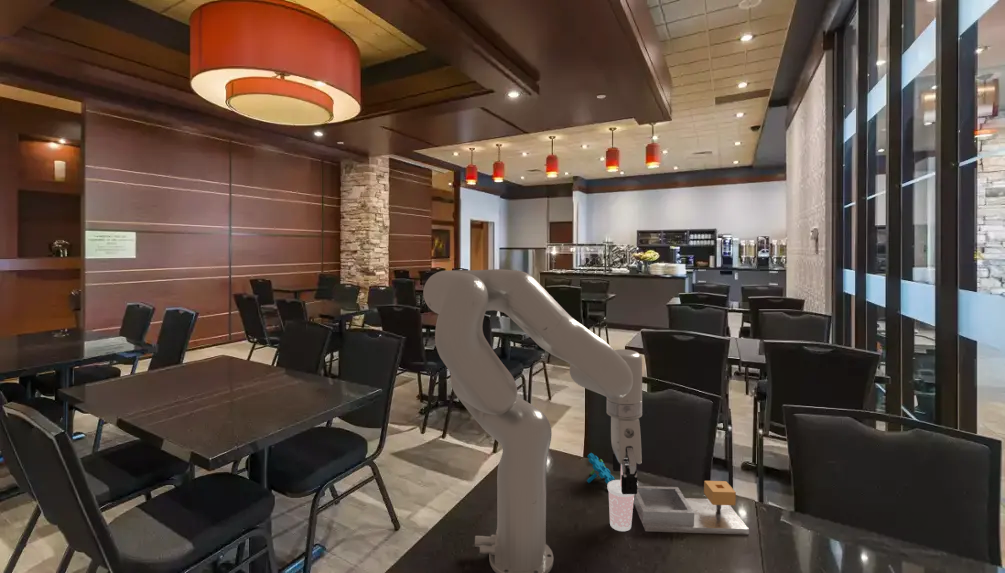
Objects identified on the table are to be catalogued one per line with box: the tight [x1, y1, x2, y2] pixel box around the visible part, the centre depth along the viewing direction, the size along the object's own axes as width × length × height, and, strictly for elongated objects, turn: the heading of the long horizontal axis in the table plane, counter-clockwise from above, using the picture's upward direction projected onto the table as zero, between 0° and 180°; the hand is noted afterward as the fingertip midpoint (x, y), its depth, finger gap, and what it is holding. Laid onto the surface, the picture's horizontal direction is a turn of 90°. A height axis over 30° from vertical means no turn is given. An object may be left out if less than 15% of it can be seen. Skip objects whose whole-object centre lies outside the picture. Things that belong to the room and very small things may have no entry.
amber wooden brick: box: [703, 480, 737, 506], centre depth 106 cm, size 5×5×3 cm
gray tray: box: [633, 485, 750, 535], centre depth 107 cm, size 22×12×4 cm, turn 87°
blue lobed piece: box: [586, 452, 616, 484], centre depth 123 cm, size 11×6×10 cm
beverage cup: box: [606, 464, 634, 532], centre depth 103 cm, size 6×6×14 cm
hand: (624, 481), depth 103 cm, fingers open, 9 cm apart
